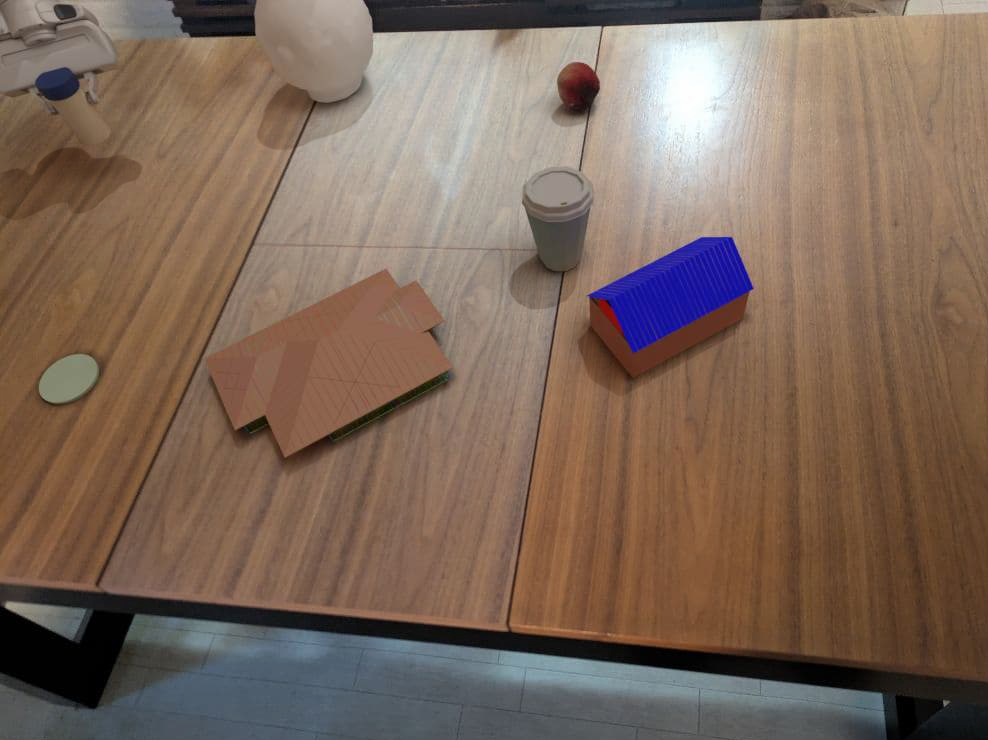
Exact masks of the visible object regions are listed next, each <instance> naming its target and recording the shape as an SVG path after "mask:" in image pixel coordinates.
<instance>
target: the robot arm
mask: <svg viewBox="0 0 988 740" xmlns="http://www.w3.org/2000/svg"><path fill="white" fill-rule="evenodd" d="M0 14H1V16H2V18H3V20H4V22H5V24H6V27H7V29H8V32H5V33H1V34H0V94H2V95H4V96H6V97H8V98H16V97H20V96H24V95H28V94H30V96H31V97H33V98H34V99H35V100H36V101H37V102H39V103H40V104H41V105H43V107H44V110H45V112H46V114H47V115H48V116H50V117H53V116H57V115H59V113H58V112H57V111H56V109H55V108H54V107H53V105H52V104H51V103H50V101H47V99H45V97H44V96H43V95H42V93H41V92H40V91H39V89H38V88H37V87H36V85H35V81H36V79H37V78H38V76H39V75H41V74H42V73H44V72H48V71H52V70H55V69H59V68H63V67H67V68H69V69H70V70H71V71H72V73H73V74H74V75H75V76H76V78H77V79H78V81H79V80H83V79H84V80H86V81H87V82H88V89H87V91H84V94H85V97H87V101H88V103H89V104H91V105H96V104H100V103H101V99H100V98H99V95H98V90H99V83H100V80H99V78H98V76H99V75H101V74H104V73H109V72H112V71H116V70H119V69H121V66H122V62H123V61H122V58H121V56H120V54H119V52H118V49H117V48H116V46H115V44H114V42H113V40H112V38H111V37H110V36H109V35H108V33H107V32H106V30H105V31H104V29H103V28H101V27H100V23H99V20H98V18H97V17H96V16H95V14H93V12H91V11H90V10H89V9H88V8H87V7H84V6H83V5H81V4H79V3H72V2H59V0H0ZM97 75H98V76H97Z"/></svg>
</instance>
